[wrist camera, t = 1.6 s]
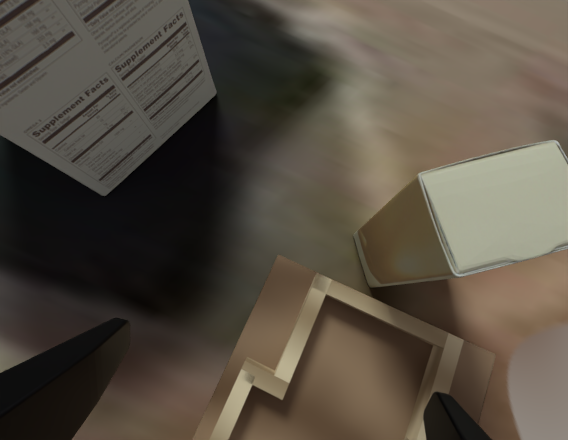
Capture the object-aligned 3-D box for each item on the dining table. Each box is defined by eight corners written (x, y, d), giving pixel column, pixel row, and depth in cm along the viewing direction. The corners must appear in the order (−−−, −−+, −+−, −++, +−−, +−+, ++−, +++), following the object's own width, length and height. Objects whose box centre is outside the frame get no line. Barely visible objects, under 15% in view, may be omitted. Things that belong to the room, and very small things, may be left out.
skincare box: (425, 215, 24) (566, 133, 12) (446, 269, 23) (621, 236, 11) (347, 234, 24) (415, 168, 12) (364, 290, 23) (458, 279, 11)
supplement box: (1, 104, 26) (-507, -253, 9) (118, 13, 29) (-111, -395, 12) (104, 201, 24) (-309, -33, 7) (220, 93, 27) (118, -265, 10)
